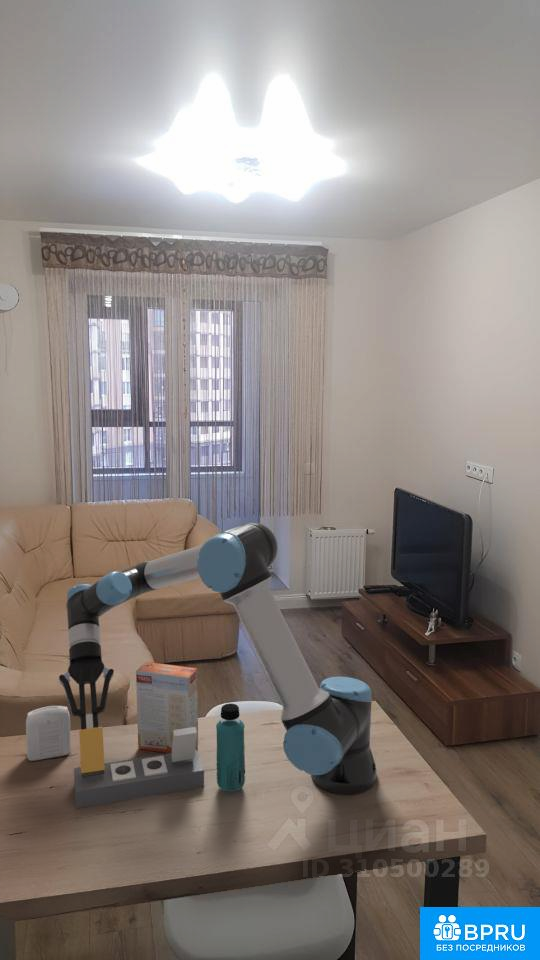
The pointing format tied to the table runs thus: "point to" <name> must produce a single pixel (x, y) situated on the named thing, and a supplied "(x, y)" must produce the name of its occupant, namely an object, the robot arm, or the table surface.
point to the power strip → (137, 779)
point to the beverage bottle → (230, 749)
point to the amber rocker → (91, 751)
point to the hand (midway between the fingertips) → (90, 744)
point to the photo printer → (48, 732)
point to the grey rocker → (184, 744)
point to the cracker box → (165, 704)
